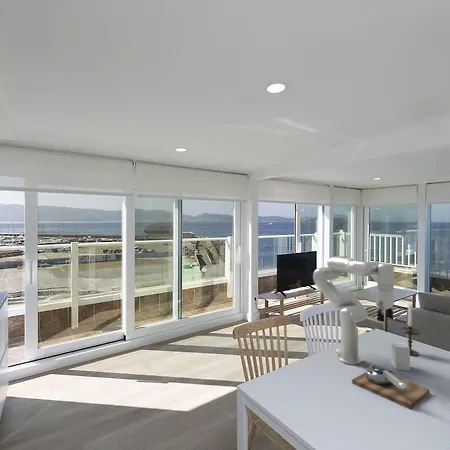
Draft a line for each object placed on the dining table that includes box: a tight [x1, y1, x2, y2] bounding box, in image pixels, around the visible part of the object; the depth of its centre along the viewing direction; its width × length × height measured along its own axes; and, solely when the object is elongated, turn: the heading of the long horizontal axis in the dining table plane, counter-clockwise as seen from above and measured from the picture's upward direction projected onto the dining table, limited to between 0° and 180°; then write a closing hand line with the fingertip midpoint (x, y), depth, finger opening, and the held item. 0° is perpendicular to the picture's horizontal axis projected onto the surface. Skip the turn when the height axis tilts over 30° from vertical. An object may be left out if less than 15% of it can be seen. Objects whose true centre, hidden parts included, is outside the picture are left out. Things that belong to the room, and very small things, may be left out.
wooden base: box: [351, 371, 431, 410], centre depth 149 cm, size 27×21×2 cm
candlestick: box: [399, 298, 421, 357], centre depth 190 cm, size 11×11×35 cm
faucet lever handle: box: [365, 363, 406, 391], centre depth 147 cm, size 24×12×7 cm, turn 7°
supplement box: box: [390, 341, 411, 371], centre depth 171 cm, size 7×7×13 cm
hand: (385, 319), depth 160 cm, fingers open, 9 cm apart
